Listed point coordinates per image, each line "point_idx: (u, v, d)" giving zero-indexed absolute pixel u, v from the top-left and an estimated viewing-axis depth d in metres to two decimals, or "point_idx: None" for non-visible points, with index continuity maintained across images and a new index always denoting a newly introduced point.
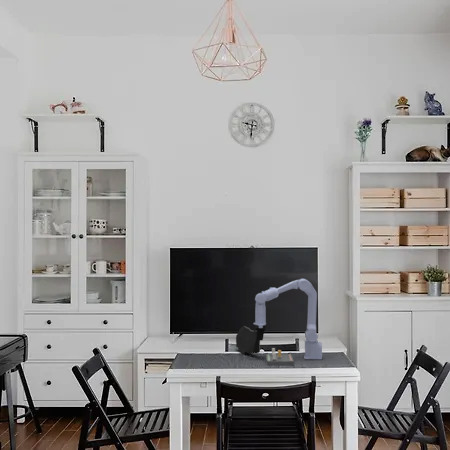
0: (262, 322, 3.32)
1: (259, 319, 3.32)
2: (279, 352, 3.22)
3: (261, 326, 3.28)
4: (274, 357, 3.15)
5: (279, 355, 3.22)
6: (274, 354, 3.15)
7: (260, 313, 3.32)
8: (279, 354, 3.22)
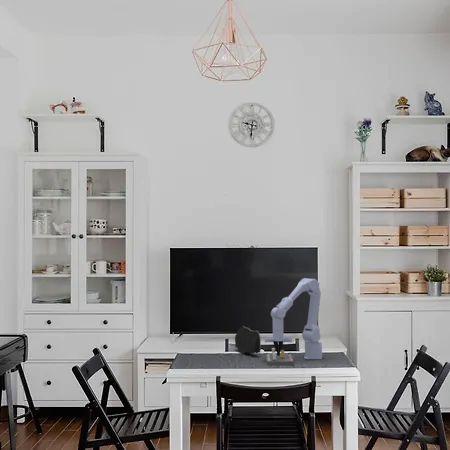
0: (273, 337, 3.23)
1: None
2: (282, 352, 3.22)
3: None
4: (274, 357, 3.15)
5: (282, 355, 3.22)
6: (274, 354, 3.15)
7: (280, 328, 3.22)
8: (282, 354, 3.22)
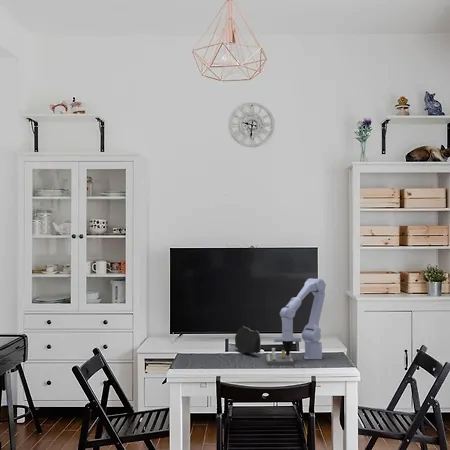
0: (283, 337, 3.23)
1: (282, 333, 3.24)
2: (283, 352, 3.22)
3: (274, 340, 3.23)
4: (274, 357, 3.15)
5: (283, 355, 3.22)
6: (274, 354, 3.15)
7: (290, 328, 3.22)
8: (283, 354, 3.22)
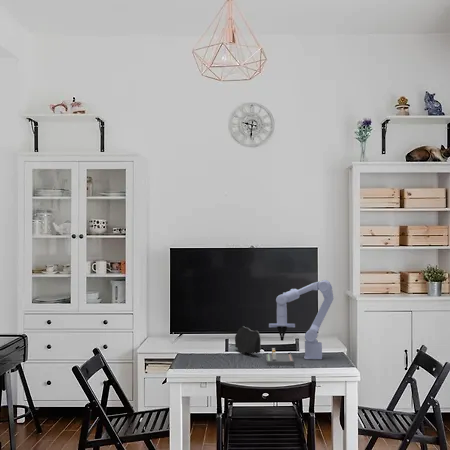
0: (277, 323, 3.36)
1: None
2: None
3: (269, 325, 3.37)
4: (274, 357, 3.15)
5: None
6: (274, 354, 3.15)
7: (281, 314, 3.35)
8: None
